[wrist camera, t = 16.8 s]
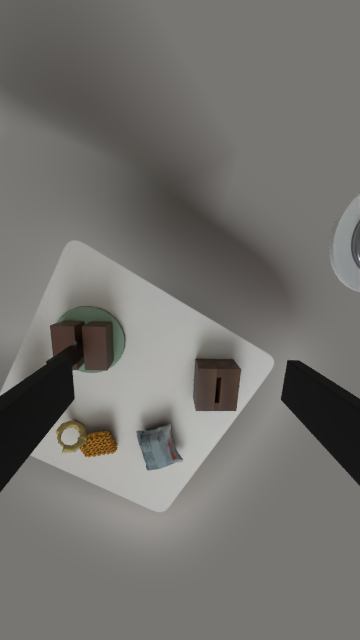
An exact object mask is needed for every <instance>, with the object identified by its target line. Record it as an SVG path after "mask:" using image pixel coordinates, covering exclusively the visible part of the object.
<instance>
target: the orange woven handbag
mask: <svg viewBox="0 0 360 640" xmlns="http://www.w3.org/2000/svg"><path fill="white" fill-rule="evenodd" d="M67 428H75V429H76V430H78V431H79V434H80V437H79V438H77V439H78V441H77V443H75V444H74V445H72V446H71V445H64V443H63V442H62V441H61V434H62V432H63V431H64V430H65V429H67ZM56 434H58V437H57V439H58V443H59V444H60V445H61V446H62V447H63V451H62V453H66V452H75V451H76V450H77V449H79V448H80V450H81V451H82V452H83V454H84V455H85V457H87V456H88V457H91V456H92V455H93V457H95V456H96V455H98V456H100V455H101V454H102V455H104V454H106V453H107V454H109V453H112V454H113V453H114V452H116V450H117V447H116V446H117V445H116V444H115V442H114V439H112V438H113V437H111V436H112V435H111V434H110V432H107V431H104V432H103V431H100V432H93V433H90V434H88V435H87V436H86V430H85V427H84V426H83V425H82V424H81V423H80V422H76V421H68V422H66V423H63V424H61V426H60V427H59V428H58V429H57V430H56ZM89 451H90V452H89ZM100 452H101V453H100Z"/></svg>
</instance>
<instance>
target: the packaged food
mask: <svg viewBox="0 0 360 640" xmlns="http://www.w3.org/2000/svg"><path fill="white" fill-rule="evenodd" d="M137 438H138V442H139V445H140V448H141V450H142V453H143V456H144V459H145V462H146V468H147V470H155V469H160V468H163V467H166V466H168V465H171V464H174V463H175V462H182V461H183V459H182V458H181V456H180V455H179V454H178V452H177V450H176V447H175V444H174V442H173V440H172V433H171V423H170V424H169V425H167V426H163V427H158V428H157V429H152V430H149V431H147V430H146V431H143V430H142V431H139V430H138V431H137Z"/></svg>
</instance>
